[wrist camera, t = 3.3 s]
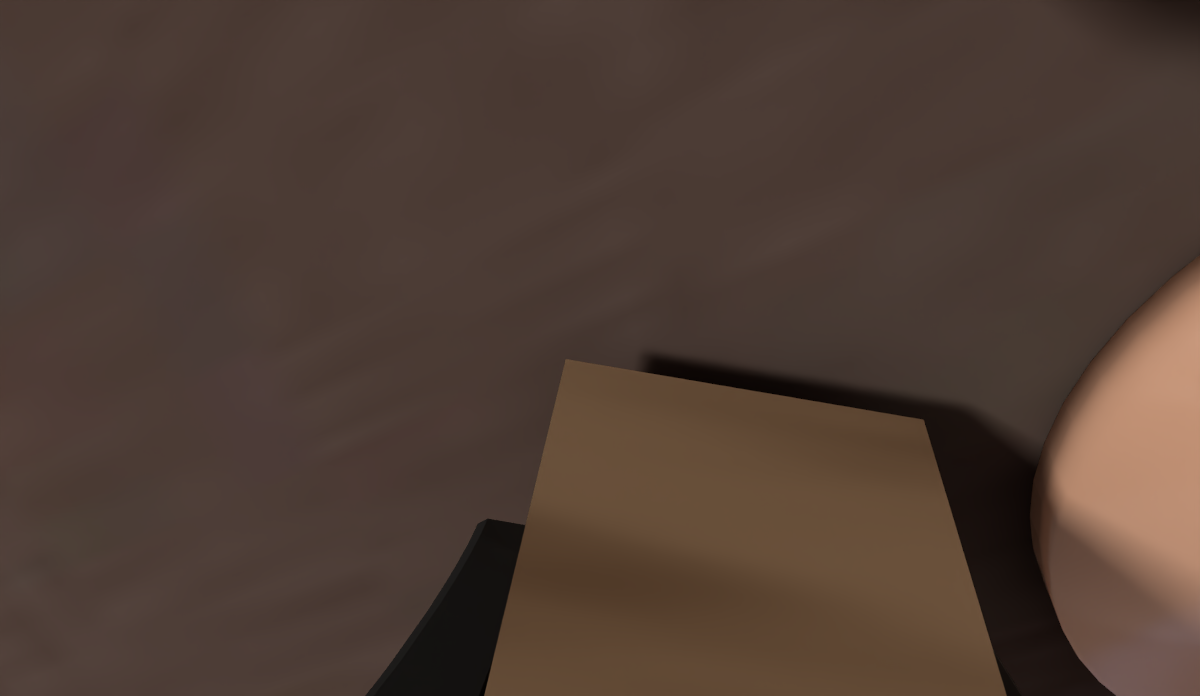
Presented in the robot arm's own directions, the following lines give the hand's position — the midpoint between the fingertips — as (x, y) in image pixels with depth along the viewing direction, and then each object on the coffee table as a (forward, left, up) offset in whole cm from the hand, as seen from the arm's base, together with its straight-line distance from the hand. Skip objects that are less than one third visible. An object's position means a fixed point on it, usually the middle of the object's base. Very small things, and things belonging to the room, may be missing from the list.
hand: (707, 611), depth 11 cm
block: (0, 0, -2) cm, 2 cm away
